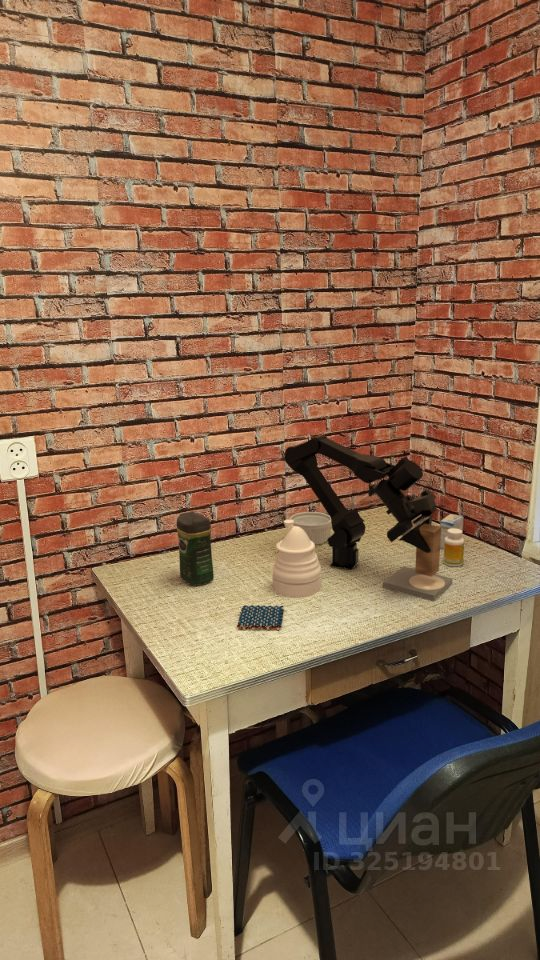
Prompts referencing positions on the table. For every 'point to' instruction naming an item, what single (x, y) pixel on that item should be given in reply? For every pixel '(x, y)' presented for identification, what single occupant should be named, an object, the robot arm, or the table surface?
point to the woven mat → (261, 617)
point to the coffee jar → (195, 548)
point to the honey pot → (296, 564)
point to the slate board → (417, 583)
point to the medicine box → (450, 526)
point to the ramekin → (314, 525)
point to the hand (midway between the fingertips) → (433, 549)
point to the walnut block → (430, 561)
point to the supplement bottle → (453, 548)
